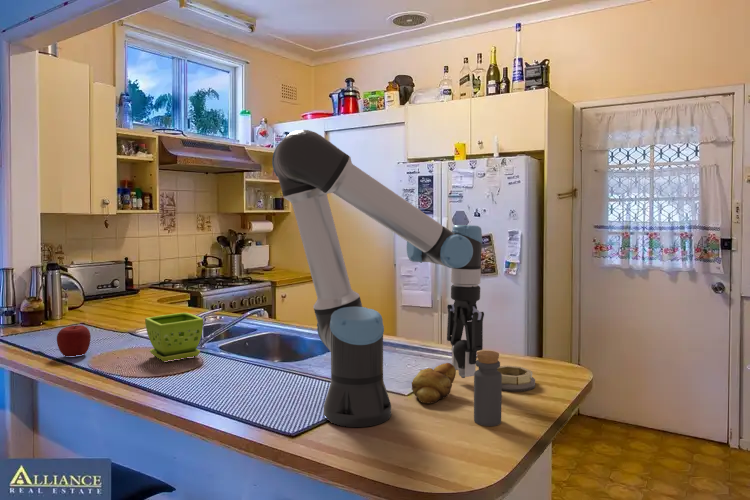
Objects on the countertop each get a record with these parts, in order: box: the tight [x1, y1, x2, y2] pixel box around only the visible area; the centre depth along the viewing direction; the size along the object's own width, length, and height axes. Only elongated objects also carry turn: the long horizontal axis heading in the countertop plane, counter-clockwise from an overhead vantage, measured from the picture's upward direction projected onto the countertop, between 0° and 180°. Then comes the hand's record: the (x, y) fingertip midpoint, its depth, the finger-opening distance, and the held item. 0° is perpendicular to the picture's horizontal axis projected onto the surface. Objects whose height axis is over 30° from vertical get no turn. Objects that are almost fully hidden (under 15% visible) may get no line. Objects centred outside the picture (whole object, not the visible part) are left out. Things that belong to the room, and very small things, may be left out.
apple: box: [56, 324, 92, 357], centre depth 175 cm, size 10×10×10 cm
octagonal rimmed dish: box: [497, 365, 536, 393], centre depth 145 cm, size 12×12×4 cm
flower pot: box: [144, 312, 204, 362], centre depth 173 cm, size 14×14×13 cm
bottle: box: [473, 350, 503, 427], centre depth 119 cm, size 6×6×15 cm
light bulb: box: [453, 339, 468, 379], centre depth 144 cm, size 6×6×10 cm
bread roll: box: [411, 362, 457, 404], centre depth 135 cm, size 13×10×8 cm
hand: (463, 372), depth 144 cm, fingers closed on light bulb, 6 cm apart
